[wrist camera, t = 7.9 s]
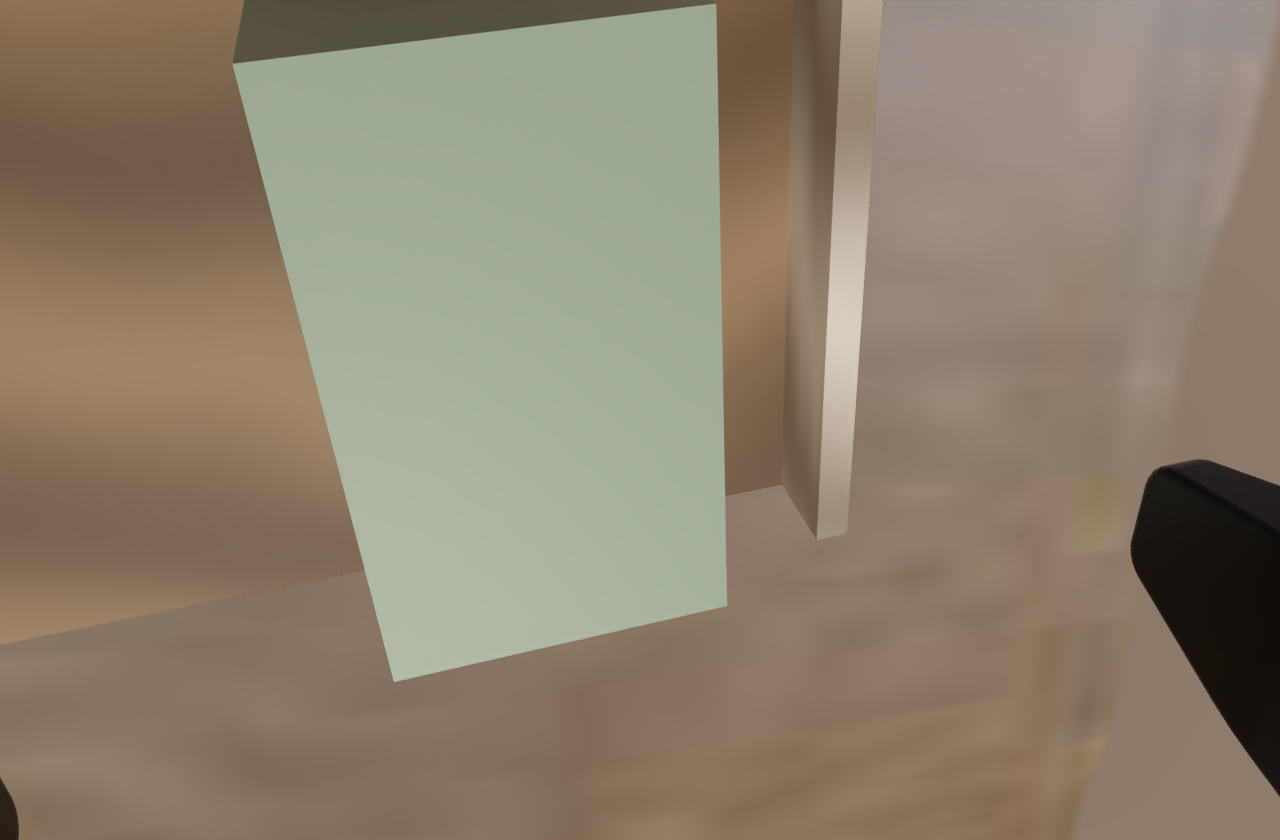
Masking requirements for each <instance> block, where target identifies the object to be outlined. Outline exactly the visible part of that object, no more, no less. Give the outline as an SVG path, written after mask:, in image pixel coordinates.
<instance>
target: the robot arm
mask: <svg viewBox="0 0 1280 840" xmlns="http://www.w3.org/2000/svg"><path fill="white" fill-rule="evenodd" d="M1131 558H1132V563H1133V566H1134V568H1135V571H1136V573H1137V575H1138V577H1139V579H1140V580H1141V582H1142V584H1143V585H1144V587H1145V589H1146V590H1147V592H1148V594H1149V595H1150V597H1151V599H1152V601H1153V602H1154V604H1155V606H1156V607H1157V609H1158V610H1159V612H1160V614H1161V616H1162V617H1163V619H1164V621H1165V622H1166V624H1167V626H1168V627H1169V629H1170V630H1171V632H1172V634H1173V636H1174V637H1175V639H1176V641H1177V642H1178V644H1179V646H1180V647H1181V649H1182V651H1183V652H1184V654H1185V656H1186V657H1187V659H1188V661H1189V662H1190V664H1191V666H1192V667H1193V669H1194V670H1195V672H1196V674H1197V676H1198V677H1199V679H1200V681H1201V682H1202V684H1203V686H1204V688H1205V689H1206V691H1207V693H1208V694H1209V696H1210V698H1211V699H1212V701H1213V702H1214V704H1215V706H1216V707H1217V709H1218V710H1219V712H1220V714H1221V715H1222V717H1223V718H1224V720H1225V721H1226V723H1227V725H1228V726H1229V728H1230V729H1231V731H1232V732H1233V733H1234V735H1235V736H1236V737H1237V739H1238V740H1239V742H1240V743H1241V745H1242V746H1243V748H1244V749H1245V750H1246V752H1247V753H1248V755H1249V756H1250V757H1251V759H1252V760H1253V761H1254V763H1255V764H1256V765H1257V767H1258V768H1259V770H1260V771H1261V772H1262V774H1263V775H1264V776H1265V778H1266V779H1267V780H1268V782H1269V783H1270V784H1271V786H1272V787H1273V788H1274V790H1275V791H1276V792H1277V794H1278V795H1279V796H1280V486H1279V485H1276V484H1273V483H1270V482H1268V481H1265V480H1262V479H1259V478H1256V477H1254V476H1251V475H1248V474H1245V473H1242V472H1240V471H1237V470H1234V469H1231V468H1229V467H1226V466H1223V465H1220V464H1217V463H1215V462H1212V461H1209V460H1202V459H1197V460H1190V461H1185V462H1180V463H1176V464H1171V465H1166V466H1162V467H1159V468H1158V469H1156V470H1154V471H1153V473H1152V474H1151V475H1150V476H1149V478H1148V479H1147V482H1146V485H1145V489H1144V493H1143V497H1142V500H1141V504H1140V508H1139V512H1138V516H1137V520H1136V524H1135V528H1134V532H1133V536H1132V540H1131ZM18 839H19V825H18V817H17V811H16V808H15V805H14V802H13V799H12V797H11V795H10V794H9V792H8V790H7V788H6V787H5V785H4V783H3V781H2V780H1V778H0V840H18Z"/></svg>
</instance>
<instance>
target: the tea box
mask: <svg viewBox="0 0 1280 840" xmlns="http://www.w3.org/2000/svg"><path fill="white" fill-rule="evenodd" d="M232 64H233V68H234V72H235V76H236V80H237V83H238V87H239V91H240V95H241V99H242V103H243V106H244V110H245V114H246V118H247V122H248V126H249V129H250V133H251V137H252V141H253V145H254V148H255V152H256V156H257V160H258V164H259V168H260V171H261V175H262V179H263V183H264V187H265V190H266V194H267V198H268V202H269V206H270V210H271V213H272V217H273V221H274V225H275V229H276V232H277V236H278V240H279V244H280V248H281V252H282V255H283V259H284V263H285V267H286V271H287V275H288V278H289V282H290V286H291V290H292V294H293V297H294V301H295V305H296V309H297V313H298V317H299V320H300V324H301V328H302V332H303V336H304V339H305V343H306V347H307V351H308V355H309V359H310V362H311V366H312V370H313V374H314V378H315V382H316V385H317V389H318V393H319V397H320V401H321V404H322V408H323V412H324V416H325V420H326V424H327V427H328V431H329V435H330V439H331V443H332V446H333V450H334V454H335V458H336V462H337V466H338V469H339V473H340V477H341V481H342V485H343V488H344V492H345V496H346V500H347V504H348V508H349V511H350V515H351V519H352V523H353V527H354V531H355V534H356V538H357V542H358V546H359V550H360V553H361V557H362V561H363V565H364V569H365V573H366V576H367V580H368V584H369V588H370V592H371V595H372V599H373V603H374V607H375V611H376V615H377V618H378V622H379V626H380V630H381V634H382V638H383V641H384V645H385V649H386V653H387V657H388V660H389V664H390V668H391V672H392V676H393V680H394V682H396V681H400V680H405V679H409V678H413V677H418V676H422V675H427V674H431V673H435V672H440V671H444V670H448V669H453V668H457V667H462V666H466V665H470V664H475V663H479V662H484V661H488V660H492V659H497V658H501V657H505V656H510V655H514V654H519V653H523V652H527V651H532V650H536V649H540V648H545V647H549V646H554V645H558V644H562V643H567V642H571V641H575V640H580V639H584V638H589V637H593V636H597V635H602V634H606V633H611V632H615V631H619V630H624V629H628V628H632V627H637V626H641V625H646V624H650V623H654V622H659V621H663V620H667V619H672V618H676V617H681V616H685V615H689V614H694V613H698V612H703V611H707V610H711V609H716V608H720V607H724V606H727V575H726V519H725V463H724V407H723V351H722V295H721V239H720V183H719V127H718V71H717V15H716V3H715V2H713V1H712V0H244V4H243V10H242V15H241V20H240V26H239V31H238V37H237V42H236V47H235V53H234V58H233V63H232Z"/></svg>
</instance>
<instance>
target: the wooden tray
mask: <svg viewBox="0 0 1280 840" xmlns="http://www.w3.org/2000/svg"><path fill="white" fill-rule="evenodd" d="M712 1H713V2H715V3H716V15H717V71H718V127H719V183H720V239H721V295H722V351H723V407H724V463H725V496H727V495H732V494H737V493H742V492H747V491H752V490H757V489H761V488H766V487H771V486H776V485H781V484H782V485H783V486H784V488H785V490H786V491H787V493H788V495H789V496H790V498H791V499H792V501H793V503H794V504H795V506H796V507H797V509H798V511H799V512H800V514H801V515H802V517H803V519H804V520H805V522H806V523H807V525H808V527H809V528H810V530H811V532H812V533H813V535H814V536H815V538H816V540H819V539H824V538H829V537H833V536H838V535H842V534H847V525H848V510H849V495H850V480H851V466H852V451H853V436H854V421H855V406H856V391H857V376H858V362H859V347H860V332H861V317H862V302H863V287H864V273H865V258H866V243H867V228H868V213H869V198H870V183H871V169H872V154H873V139H874V124H875V109H876V94H877V79H878V65H879V50H880V35H881V20H882V5H883V0H712ZM243 4H244V0H0V645H3V644H7V643H12V642H17V641H22V640H27V639H32V638H37V637H42V636H46V635H51V634H56V633H61V632H66V631H71V630H76V629H80V628H85V627H90V626H95V625H100V624H105V623H110V622H114V621H119V620H124V619H129V618H134V617H139V616H144V615H149V614H153V613H158V612H163V611H168V610H173V609H178V608H183V607H187V606H192V605H197V604H202V603H207V602H212V601H217V600H221V599H226V598H231V597H236V596H241V595H246V594H251V593H256V592H260V591H265V590H270V589H275V588H280V587H285V586H290V585H294V584H299V583H304V582H309V581H314V580H319V579H324V578H328V577H333V576H338V575H343V574H348V573H353V572H358V571H363V570H365V569H364V565H363V561H362V557H361V553H360V550H359V546H358V542H357V538H356V534H355V531H354V527H353V523H352V519H351V515H350V511H349V508H348V504H347V500H346V496H345V492H344V488H343V485H342V481H341V477H340V473H339V469H338V466H337V462H336V458H335V454H334V450H333V446H332V443H331V439H330V435H329V431H328V427H327V424H326V420H325V416H324V412H323V408H322V404H321V401H320V397H319V393H318V389H317V385H316V382H315V378H314V374H313V370H312V366H311V362H310V359H309V355H308V351H307V347H306V343H305V339H304V336H303V332H302V328H301V324H300V320H299V317H298V313H297V309H296V305H295V301H294V297H293V294H292V290H291V286H290V282H289V278H288V275H287V271H286V267H285V263H284V259H283V255H282V252H281V248H280V244H279V240H278V236H277V232H276V229H275V225H274V221H273V217H272V213H271V210H270V206H269V202H268V198H267V194H266V190H265V187H264V183H263V179H262V175H261V171H260V168H259V164H258V160H257V156H256V152H255V148H254V145H253V141H252V137H251V133H250V129H249V126H248V122H247V118H246V114H245V110H244V106H243V103H242V99H241V95H240V91H239V87H238V83H237V80H236V76H235V72H234V68H233V64H232V63H233V58H234V53H235V47H236V42H237V37H238V31H239V26H240V20H241V15H242V10H243Z"/></svg>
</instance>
